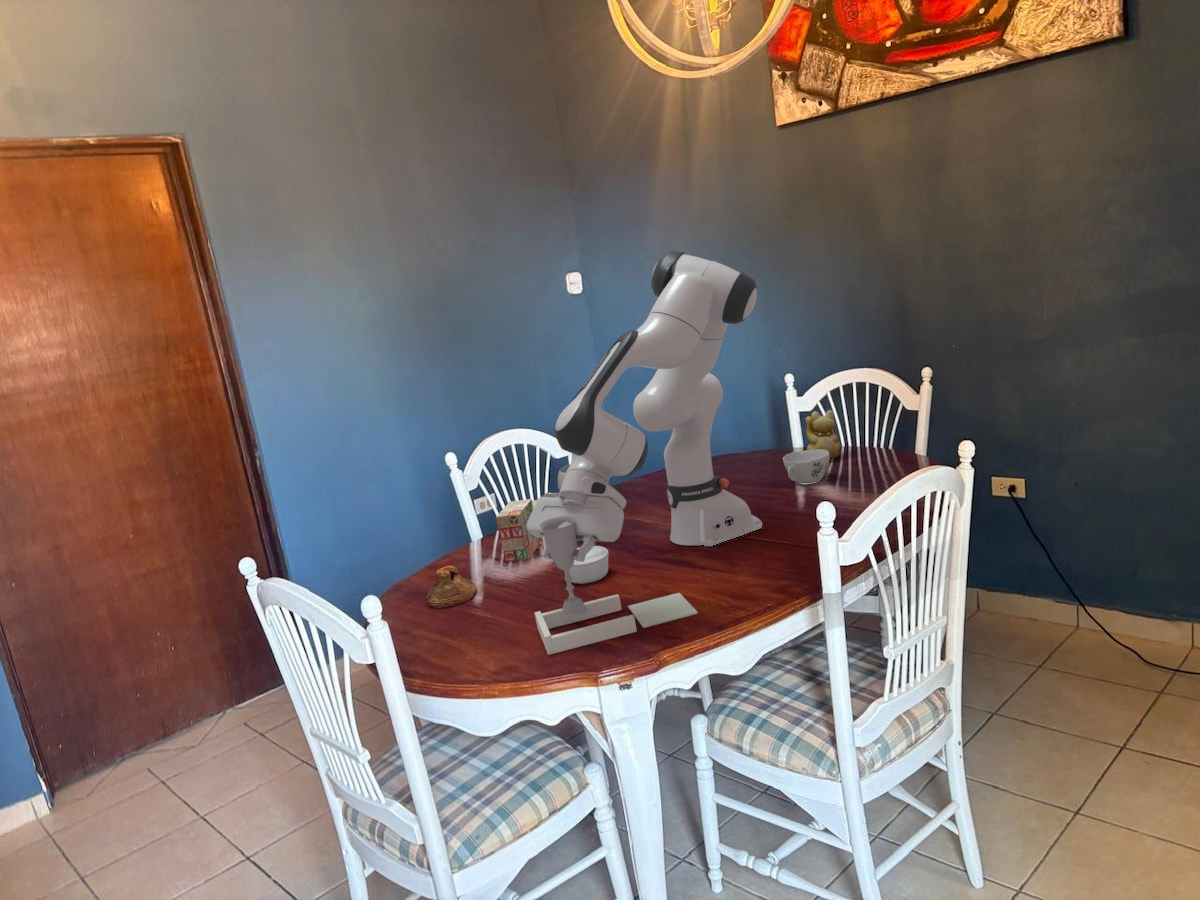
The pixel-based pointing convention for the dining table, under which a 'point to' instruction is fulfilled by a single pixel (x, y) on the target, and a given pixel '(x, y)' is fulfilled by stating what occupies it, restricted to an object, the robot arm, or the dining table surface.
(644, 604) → the mat
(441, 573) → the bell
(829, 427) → the decorative figurine
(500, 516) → the stack of blocks
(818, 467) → the teacup
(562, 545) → the chalice
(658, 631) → the dining table surface
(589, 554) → the ramekin
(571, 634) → the frame
